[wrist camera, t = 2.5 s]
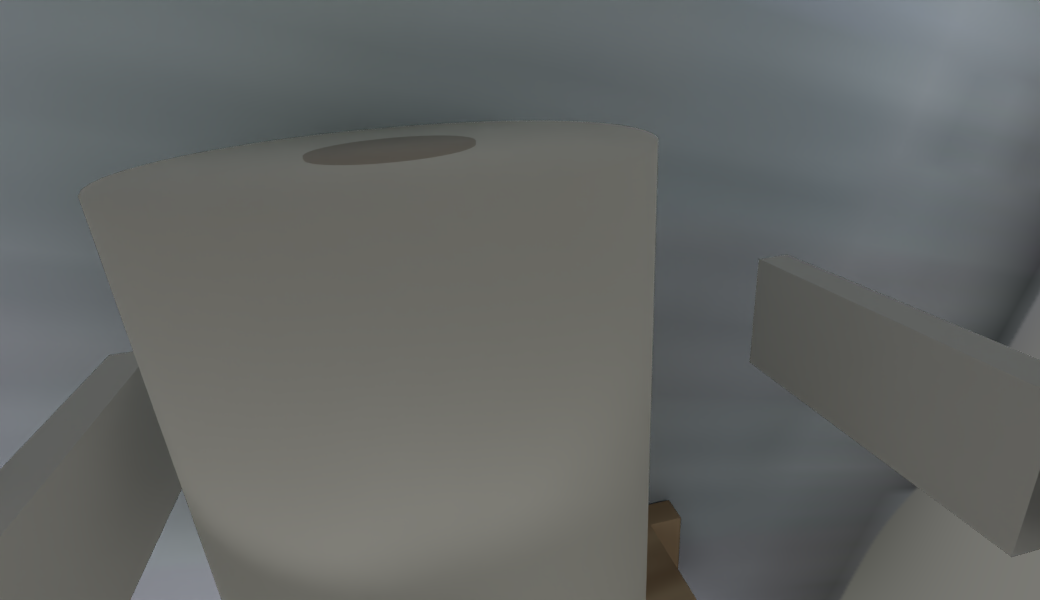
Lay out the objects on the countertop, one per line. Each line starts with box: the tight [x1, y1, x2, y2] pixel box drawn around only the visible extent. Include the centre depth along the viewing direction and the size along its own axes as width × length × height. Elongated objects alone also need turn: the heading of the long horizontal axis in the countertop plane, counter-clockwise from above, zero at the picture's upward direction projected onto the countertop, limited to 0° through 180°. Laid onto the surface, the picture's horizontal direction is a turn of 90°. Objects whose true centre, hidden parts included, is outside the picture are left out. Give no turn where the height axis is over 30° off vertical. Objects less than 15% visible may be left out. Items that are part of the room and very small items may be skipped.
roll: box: [78, 120, 658, 600], centre depth 11 cm, size 9×8×8 cm
